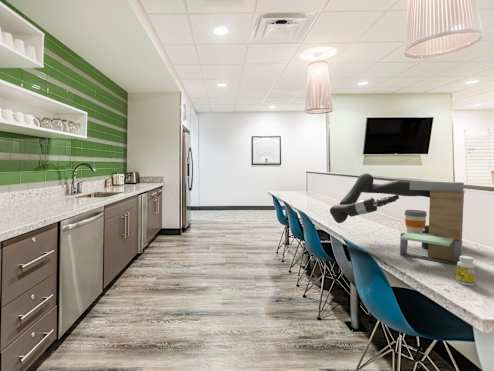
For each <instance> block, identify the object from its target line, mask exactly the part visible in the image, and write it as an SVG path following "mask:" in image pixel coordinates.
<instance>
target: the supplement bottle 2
mask: <svg viewBox="0 0 494 371" xmlns="http://www.w3.org/2000/svg"><path fill="white" fill-rule="evenodd" d="M459 259H460V261H459V262H458V263H457V265H456V282H457V283H459V284H461V285H465V286H474V285H475V284H476V264H474V257H472V256H467V255H462V256H460V257H459Z"/></svg>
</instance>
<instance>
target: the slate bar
mask: <svg viewBox="0 0 494 371" xmlns="http://www.w3.org/2000/svg"><path fill="white" fill-rule="evenodd" d="M409 182H410V190H431V191H456V192H463V191H465V190H464V186H465V183H464V182H460V181H459V182H458V181H457V182H454V181H453V182H452V181H409Z"/></svg>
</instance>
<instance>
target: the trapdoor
mask: <svg viewBox="0 0 494 371" xmlns="http://www.w3.org/2000/svg"><path fill="white" fill-rule="evenodd" d="M405 233H406V234H404V235H403V236H401V235H400V237H401V239H404V240H408V241H413V242H417V243H418V242H419V243H422V242H424V243H431V244H437V245H444V246H450V244H451V243H452V242H453V239H452V238H444V237H439V235H433V234H425V233H421V234H414V233H407V232H405Z"/></svg>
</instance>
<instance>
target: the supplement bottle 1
mask: <svg viewBox="0 0 494 371" xmlns="http://www.w3.org/2000/svg"><path fill="white" fill-rule="evenodd" d="M422 233H425V234H429V224H428V225H427V224H425V226H424V231H422ZM421 248H422V249H425V250H428V243H424V242H421Z"/></svg>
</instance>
